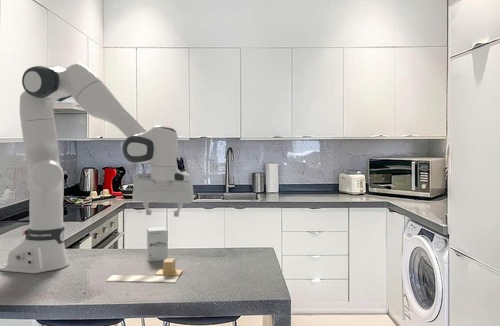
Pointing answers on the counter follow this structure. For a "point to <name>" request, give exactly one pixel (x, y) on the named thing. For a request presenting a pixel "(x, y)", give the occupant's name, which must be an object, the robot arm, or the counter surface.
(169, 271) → the stepped wooden block
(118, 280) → the board
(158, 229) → the supplement box
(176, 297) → the counter surface
